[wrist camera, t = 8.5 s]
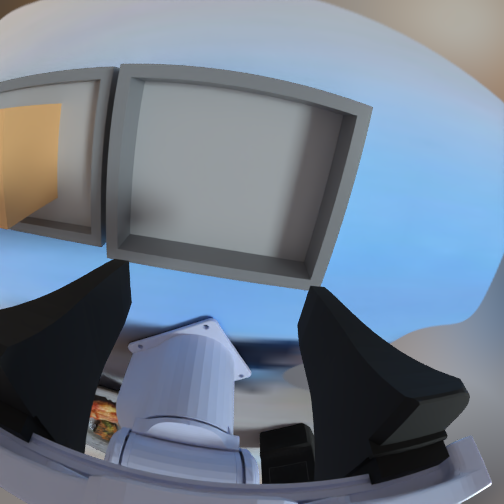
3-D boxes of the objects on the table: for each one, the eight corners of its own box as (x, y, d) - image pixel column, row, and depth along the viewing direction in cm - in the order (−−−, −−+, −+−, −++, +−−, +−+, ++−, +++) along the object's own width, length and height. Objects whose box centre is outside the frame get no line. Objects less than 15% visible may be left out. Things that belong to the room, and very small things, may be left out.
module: (61, 103, 14) (-3, 109, 9) (57, 197, 17) (2, 233, 12) (16, 107, 14) (-45, 118, 8) (14, 192, 17) (-39, 224, 11)
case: (353, 107, 16) (372, 107, 13) (309, 267, 22) (318, 291, 19) (139, 70, 15) (120, 63, 12) (123, 237, 20) (107, 257, 17)
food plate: (47, 342, 25) (34, 364, 22) (231, 415, 31) (230, 440, 28) (55, 418, 35) (49, 433, 32) (173, 463, 41) (171, 479, 38)
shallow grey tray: (138, 70, 15) (127, 66, 13) (122, 237, 20) (112, 249, 18) (-6, 86, 13) (-21, 88, 11) (-7, 215, 18) (-20, 223, 17)
